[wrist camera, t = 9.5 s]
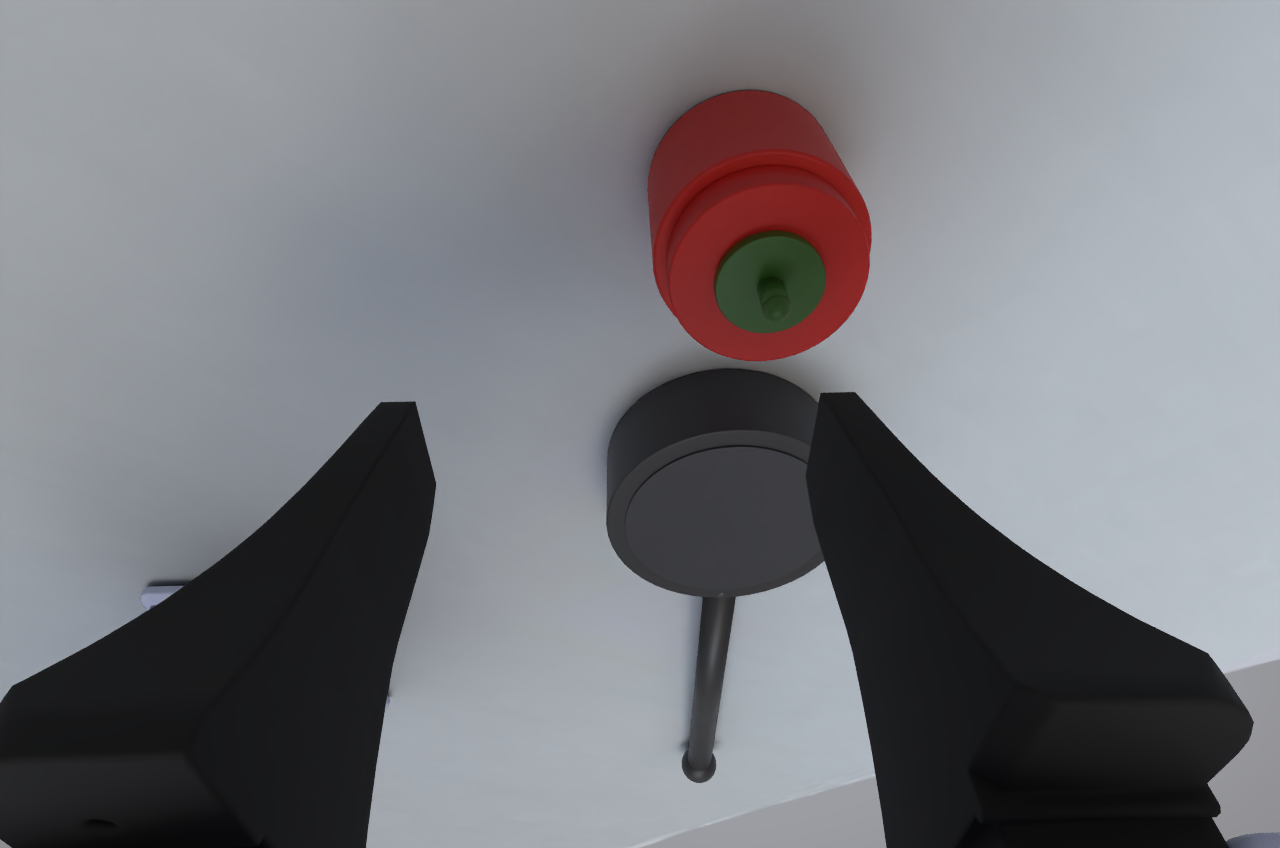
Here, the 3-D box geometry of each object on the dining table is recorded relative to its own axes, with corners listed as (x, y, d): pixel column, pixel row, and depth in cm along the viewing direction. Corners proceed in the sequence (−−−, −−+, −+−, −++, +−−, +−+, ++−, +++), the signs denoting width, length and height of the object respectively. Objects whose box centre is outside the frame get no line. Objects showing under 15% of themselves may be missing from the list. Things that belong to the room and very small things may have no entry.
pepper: (819, 267, 22) (877, 406, 17) (647, 271, 22) (656, 411, 17) (848, 87, 19) (929, 196, 14) (646, 91, 19) (657, 201, 14)
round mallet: (770, 752, 41) (779, 811, 39) (623, 756, 41) (623, 815, 39) (851, 365, 24) (876, 428, 22) (602, 371, 24) (600, 435, 22)
